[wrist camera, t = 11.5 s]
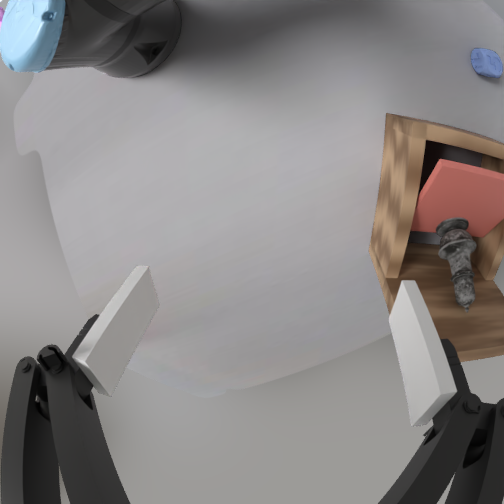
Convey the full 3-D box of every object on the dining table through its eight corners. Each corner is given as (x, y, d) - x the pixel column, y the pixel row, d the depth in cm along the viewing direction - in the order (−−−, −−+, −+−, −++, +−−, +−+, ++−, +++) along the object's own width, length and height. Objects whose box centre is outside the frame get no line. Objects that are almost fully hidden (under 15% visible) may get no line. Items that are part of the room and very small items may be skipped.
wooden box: (386, 113, 32) (480, 146, 13) (492, 138, 29) (593, 194, 10) (368, 250, 44) (403, 367, 24) (464, 256, 41) (522, 350, 22)
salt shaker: (461, 237, 33) (475, 316, 28) (429, 237, 35) (439, 320, 30) (476, 216, 28) (495, 303, 23) (440, 215, 30) (457, 307, 25)
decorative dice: (469, 48, 23) (482, 47, 20) (487, 54, 22) (501, 53, 19) (472, 72, 25) (486, 72, 22) (490, 77, 24) (504, 78, 21)
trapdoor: (439, 158, 23) (442, 166, 22) (529, 182, 20) (532, 189, 20) (400, 223, 35) (401, 229, 35) (481, 231, 33) (483, 237, 32)
